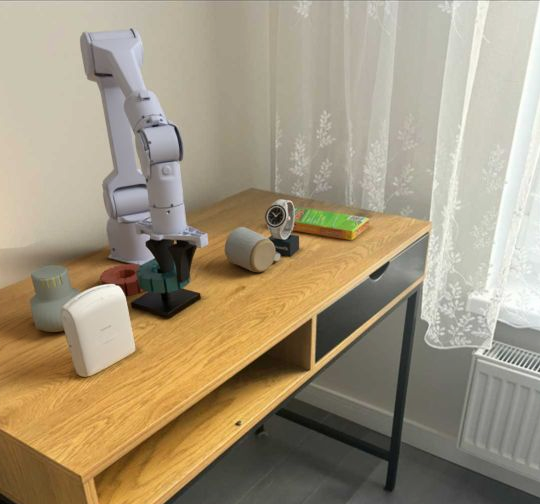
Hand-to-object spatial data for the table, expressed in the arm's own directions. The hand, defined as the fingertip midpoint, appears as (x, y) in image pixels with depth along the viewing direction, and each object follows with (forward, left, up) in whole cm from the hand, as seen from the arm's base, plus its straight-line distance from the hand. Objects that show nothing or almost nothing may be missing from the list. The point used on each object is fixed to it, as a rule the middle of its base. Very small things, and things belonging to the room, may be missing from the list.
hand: (176, 278), depth 107 cm
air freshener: (-14, -15, -6) cm, 22 cm away
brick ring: (-15, +2, -6) cm, 16 cm away
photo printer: (+2, -20, -6) cm, 21 cm away
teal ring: (-3, 0, -1) cm, 3 cm away
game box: (+3, +47, -6) cm, 48 cm away
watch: (+3, +31, -6) cm, 32 cm away
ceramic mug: (+2, +22, -6) cm, 23 cm away
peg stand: (-3, 0, -6) cm, 7 cm away
